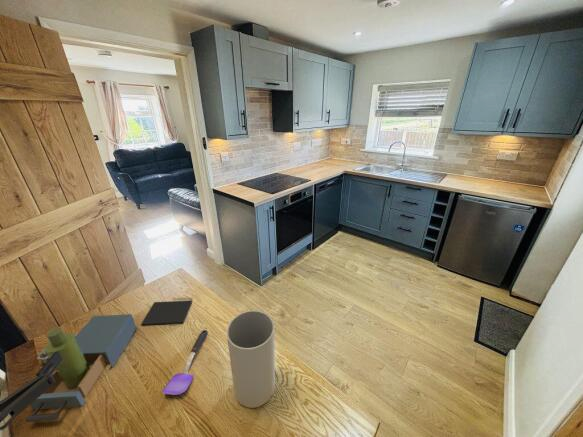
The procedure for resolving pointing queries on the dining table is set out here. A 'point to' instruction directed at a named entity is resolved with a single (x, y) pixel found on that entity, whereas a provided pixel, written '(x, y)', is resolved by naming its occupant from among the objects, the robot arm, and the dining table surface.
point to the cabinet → (106, 336)
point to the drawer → (67, 391)
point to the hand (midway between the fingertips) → (27, 364)
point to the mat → (167, 313)
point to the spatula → (183, 380)
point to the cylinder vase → (252, 357)
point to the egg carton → (45, 355)
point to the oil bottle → (67, 357)
